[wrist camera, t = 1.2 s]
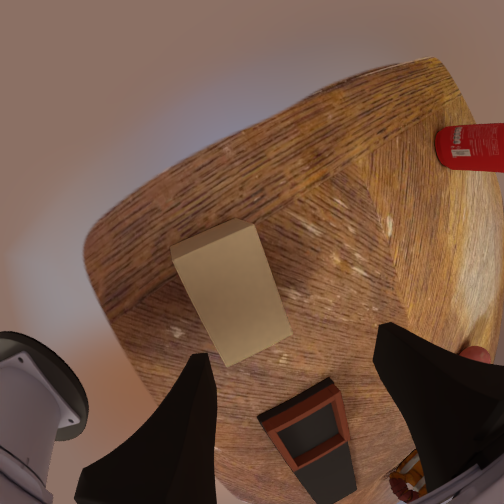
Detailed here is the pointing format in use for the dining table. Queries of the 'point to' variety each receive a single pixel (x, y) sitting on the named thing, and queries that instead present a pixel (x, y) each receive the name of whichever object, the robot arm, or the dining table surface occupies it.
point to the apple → (476, 354)
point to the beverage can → (472, 147)
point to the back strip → (314, 441)
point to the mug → (409, 479)
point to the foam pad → (232, 289)
